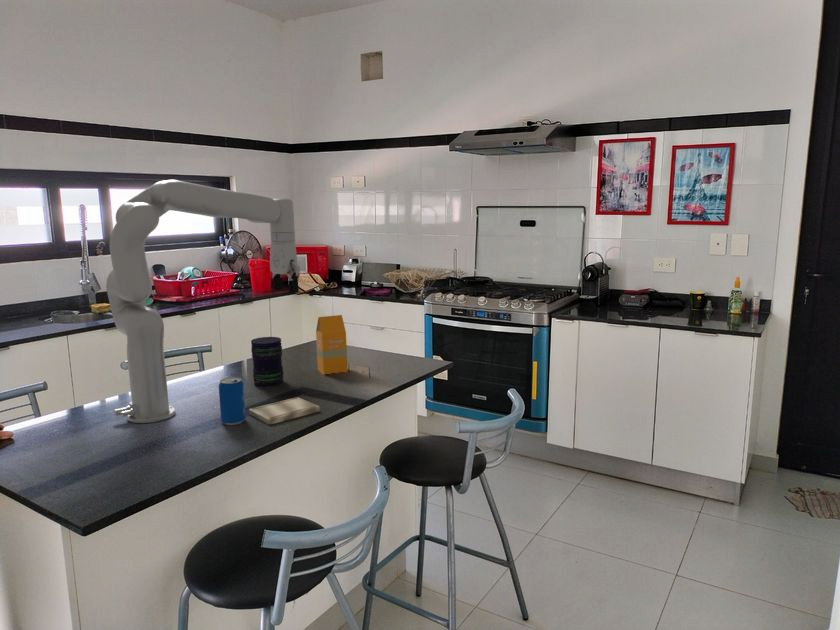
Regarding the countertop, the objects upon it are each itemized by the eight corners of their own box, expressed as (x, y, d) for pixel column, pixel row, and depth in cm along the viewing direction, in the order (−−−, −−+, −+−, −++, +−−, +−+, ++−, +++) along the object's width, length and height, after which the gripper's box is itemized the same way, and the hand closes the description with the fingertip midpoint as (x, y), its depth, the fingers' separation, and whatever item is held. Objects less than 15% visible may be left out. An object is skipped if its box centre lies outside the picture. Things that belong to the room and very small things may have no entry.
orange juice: (317, 370, 224) (314, 315, 220) (341, 367, 228) (338, 313, 224) (323, 375, 217) (321, 319, 213) (347, 372, 221) (345, 316, 217)
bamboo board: (269, 424, 169) (268, 419, 169) (248, 414, 178) (248, 408, 178) (319, 411, 180) (319, 405, 179) (298, 401, 188) (297, 396, 188)
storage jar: (276, 388, 202) (273, 343, 200) (248, 387, 204) (245, 342, 202) (288, 380, 212) (286, 337, 209) (261, 378, 214) (259, 336, 211)
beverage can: (241, 426, 169) (238, 383, 167) (218, 426, 169) (214, 383, 167) (248, 417, 175) (245, 376, 173) (225, 418, 175) (222, 376, 173)
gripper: (259, 237, 202) (262, 290, 205) (286, 239, 189) (289, 295, 192) (279, 236, 207) (282, 287, 210) (307, 238, 194) (310, 292, 197)
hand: (285, 291), depth 201 cm, fingers open, 9 cm apart
